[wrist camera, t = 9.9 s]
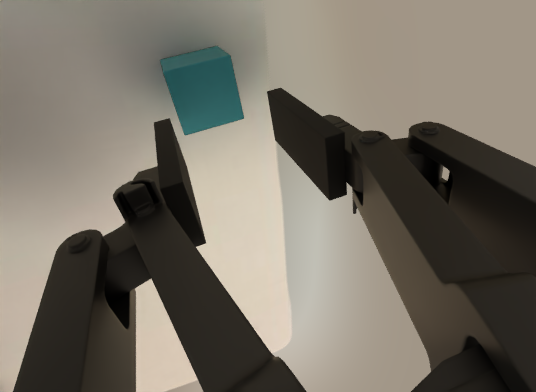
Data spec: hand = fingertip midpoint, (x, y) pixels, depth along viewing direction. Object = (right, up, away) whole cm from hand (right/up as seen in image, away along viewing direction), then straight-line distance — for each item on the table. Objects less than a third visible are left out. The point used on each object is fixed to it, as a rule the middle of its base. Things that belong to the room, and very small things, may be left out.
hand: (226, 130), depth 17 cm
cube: (-3, +5, +9) cm, 11 cm away
